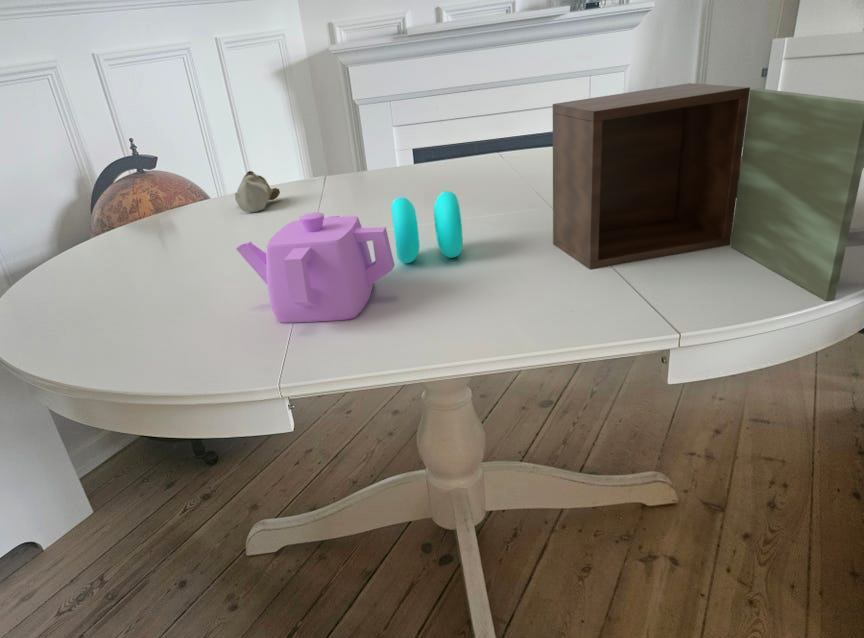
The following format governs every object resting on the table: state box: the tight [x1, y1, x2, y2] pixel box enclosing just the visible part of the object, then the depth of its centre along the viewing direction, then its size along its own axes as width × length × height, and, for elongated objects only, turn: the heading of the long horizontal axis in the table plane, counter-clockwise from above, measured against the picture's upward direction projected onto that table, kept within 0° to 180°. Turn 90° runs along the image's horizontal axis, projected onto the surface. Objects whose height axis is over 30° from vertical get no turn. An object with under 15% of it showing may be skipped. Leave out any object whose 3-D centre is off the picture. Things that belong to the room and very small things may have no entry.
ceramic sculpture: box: [234, 170, 281, 213], centre depth 147 cm, size 11×9×15 cm
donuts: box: [390, 190, 464, 264], centre depth 96 cm, size 10×10×10 cm
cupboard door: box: [730, 88, 864, 302], centre depth 73 cm, size 7×20×20 cm, turn 1°
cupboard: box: [552, 82, 751, 271], centre depth 88 cm, size 13×20×20 cm, turn 99°
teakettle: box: [236, 211, 395, 324], centre depth 85 cm, size 17×17×12 cm
